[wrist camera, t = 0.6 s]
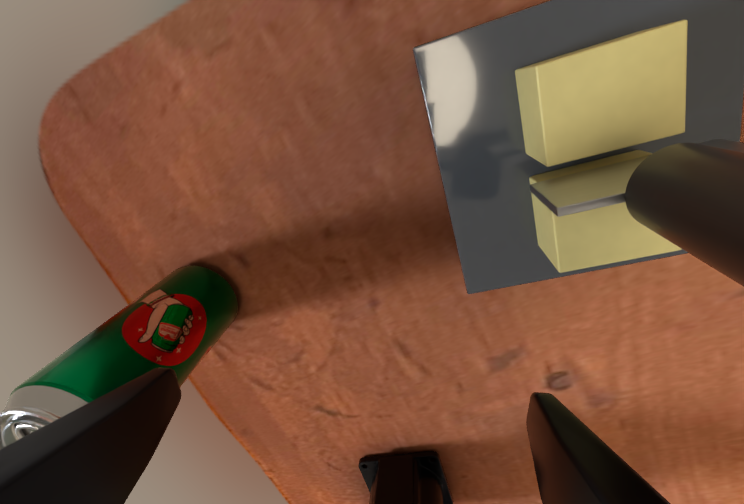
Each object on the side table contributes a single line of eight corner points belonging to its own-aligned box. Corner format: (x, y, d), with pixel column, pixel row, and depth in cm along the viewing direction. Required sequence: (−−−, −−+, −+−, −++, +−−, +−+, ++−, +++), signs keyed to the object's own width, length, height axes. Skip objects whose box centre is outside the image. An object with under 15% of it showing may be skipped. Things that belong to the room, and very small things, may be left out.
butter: (640, 224, 17) (683, 250, 14) (537, 245, 18) (559, 274, 15) (636, 32, 14) (689, 18, 11) (514, 70, 15) (535, 65, 12)
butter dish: (689, 223, 19) (733, 245, 17) (461, 269, 22) (467, 295, 19) (697, -43, 15) (757, -72, 12) (413, 53, 18) (412, 47, 15)
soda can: (186, 328, 26) (24, 495, 16) (159, 265, 25) (-49, 406, 14) (251, 322, 26) (126, 495, 15) (227, 257, 24) (64, 400, 13)
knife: (715, 177, 13) (1111, 295, 5) (533, 217, 14) (656, 357, 7) (719, 105, 12) (1198, 131, 5) (525, 155, 13) (655, 238, 6)
